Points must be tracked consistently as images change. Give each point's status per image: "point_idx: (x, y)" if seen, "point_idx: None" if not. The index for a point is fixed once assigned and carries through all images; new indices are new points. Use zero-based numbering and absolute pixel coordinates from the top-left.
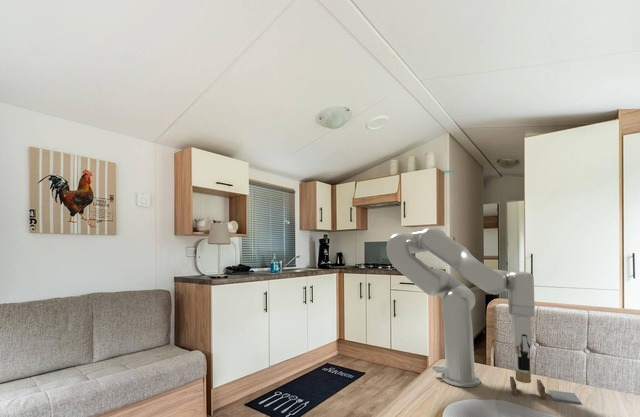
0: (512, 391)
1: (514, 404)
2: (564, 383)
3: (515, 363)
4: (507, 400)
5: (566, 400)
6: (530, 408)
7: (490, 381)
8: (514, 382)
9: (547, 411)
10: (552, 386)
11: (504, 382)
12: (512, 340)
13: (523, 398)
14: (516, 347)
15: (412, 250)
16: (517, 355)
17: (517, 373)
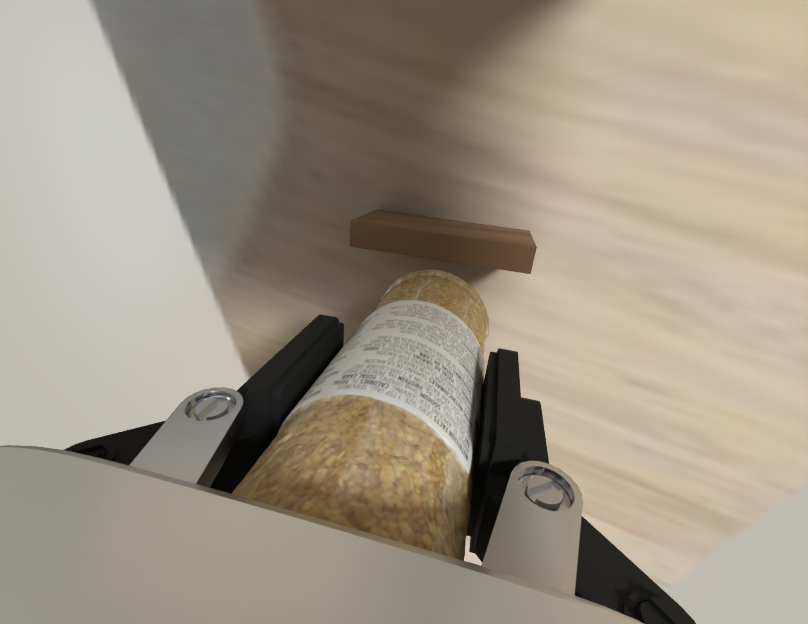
0: (413, 216)
1: (244, 180)
2: (639, 562)
3: (393, 324)
4: (287, 150)
5: None
6: (227, 255)
7: (655, 84)
8: (387, 243)
9: (225, 324)
10: (580, 485)
11: (635, 209)
12: (202, 590)
13: (349, 260)
14: (257, 485)
15: None
16: (307, 395)
17: (394, 296)
